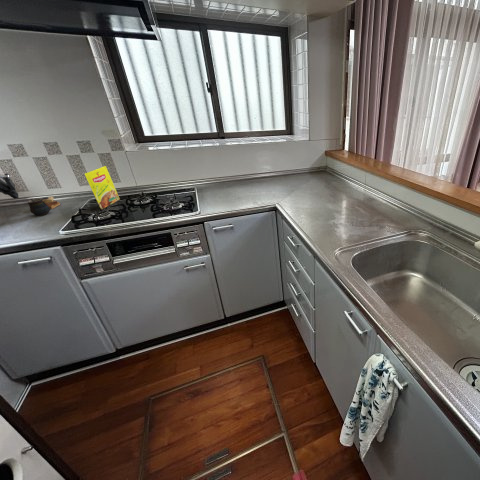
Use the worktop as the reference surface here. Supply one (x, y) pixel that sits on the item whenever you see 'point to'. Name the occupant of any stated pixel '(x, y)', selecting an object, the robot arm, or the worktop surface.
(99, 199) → the food package
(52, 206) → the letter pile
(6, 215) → the worktop surface
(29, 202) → the mate gourd
